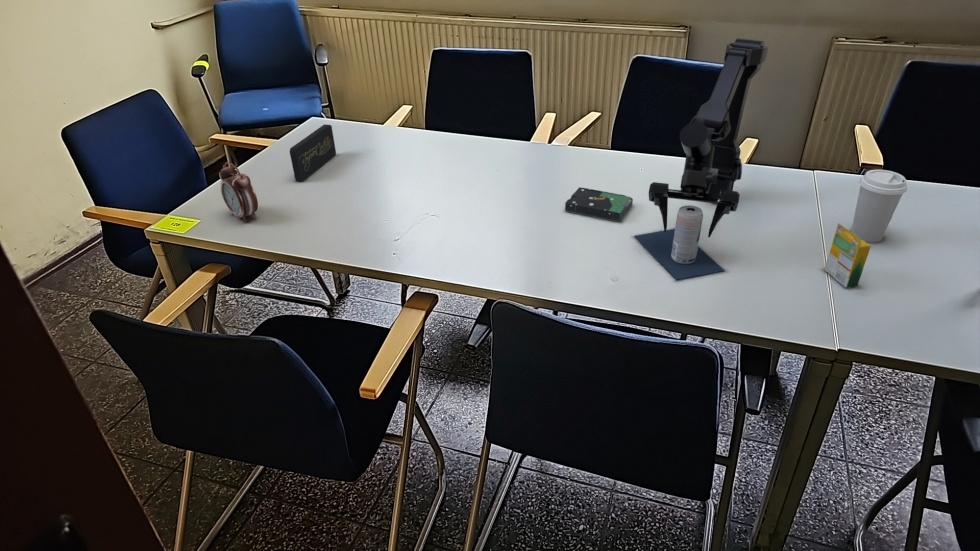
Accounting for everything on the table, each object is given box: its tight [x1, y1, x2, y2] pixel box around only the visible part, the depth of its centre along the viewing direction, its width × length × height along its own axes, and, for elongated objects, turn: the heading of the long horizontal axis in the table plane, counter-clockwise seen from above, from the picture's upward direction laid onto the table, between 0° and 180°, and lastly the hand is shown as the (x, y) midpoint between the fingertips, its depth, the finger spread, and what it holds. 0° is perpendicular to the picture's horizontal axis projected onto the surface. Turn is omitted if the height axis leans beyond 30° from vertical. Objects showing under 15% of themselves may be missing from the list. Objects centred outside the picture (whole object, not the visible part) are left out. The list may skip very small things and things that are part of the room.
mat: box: [633, 228, 726, 281], centre depth 149 cm, size 12×20×1 cm, turn 16°
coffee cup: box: [850, 169, 908, 244], centre depth 149 cm, size 10×10×15 cm
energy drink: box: [671, 205, 704, 264], centre depth 143 cm, size 5×5×12 cm
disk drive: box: [564, 186, 634, 222], centre depth 168 cm, size 10×3×15 cm
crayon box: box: [823, 222, 872, 289], centre depth 136 cm, size 7×3×12 cm, turn 12°
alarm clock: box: [218, 161, 259, 223], centre depth 167 cm, size 11×5×15 cm, turn 47°
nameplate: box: [289, 124, 337, 182], centre depth 193 cm, size 21×2×10 cm, turn 163°
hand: (686, 233), depth 142 cm, fingers open, 9 cm apart
